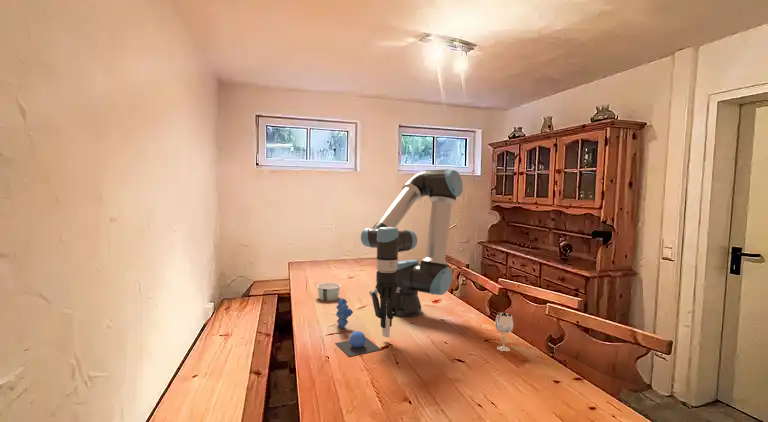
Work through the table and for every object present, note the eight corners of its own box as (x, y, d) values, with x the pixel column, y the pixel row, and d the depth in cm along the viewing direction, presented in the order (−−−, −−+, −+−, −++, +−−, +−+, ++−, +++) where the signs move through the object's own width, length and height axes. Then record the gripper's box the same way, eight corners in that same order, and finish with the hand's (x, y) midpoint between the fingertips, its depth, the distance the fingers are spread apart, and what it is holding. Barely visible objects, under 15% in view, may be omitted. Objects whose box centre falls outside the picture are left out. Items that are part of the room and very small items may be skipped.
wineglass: (512, 347, 131) (513, 313, 131) (512, 353, 126) (513, 318, 125) (495, 344, 133) (496, 311, 132) (494, 351, 128) (495, 316, 127)
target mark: (365, 337, 137) (365, 337, 137) (381, 350, 127) (381, 349, 127) (335, 343, 132) (335, 343, 132) (348, 356, 121) (348, 356, 121)
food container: (339, 301, 182) (339, 288, 182) (314, 301, 182) (314, 288, 182) (342, 295, 194) (342, 282, 194) (318, 294, 194) (319, 282, 194)
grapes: (356, 332, 143) (356, 301, 142) (338, 333, 141) (339, 302, 140) (349, 322, 154) (350, 293, 153) (333, 323, 152) (333, 294, 151)
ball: (349, 347, 130) (363, 340, 133) (356, 353, 126) (370, 345, 128) (345, 333, 129) (358, 326, 132) (351, 338, 125) (365, 330, 127)
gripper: (375, 274, 127) (374, 343, 128) (408, 271, 133) (406, 336, 134) (365, 270, 133) (365, 335, 135) (397, 267, 140) (396, 329, 141)
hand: (385, 335), depth 134 cm, fingers closed
